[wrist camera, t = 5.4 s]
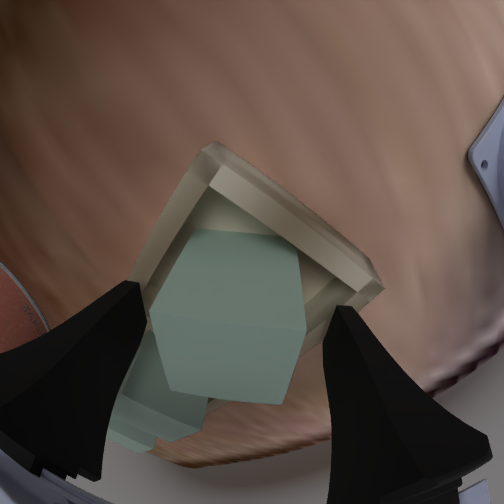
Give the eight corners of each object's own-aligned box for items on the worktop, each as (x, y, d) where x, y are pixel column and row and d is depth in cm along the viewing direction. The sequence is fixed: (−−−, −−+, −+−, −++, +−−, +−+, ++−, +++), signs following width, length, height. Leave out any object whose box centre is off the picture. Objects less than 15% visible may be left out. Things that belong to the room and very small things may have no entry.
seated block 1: (169, 392, 18) (153, 448, 13) (153, 406, 20) (138, 453, 15) (123, 368, 17) (99, 423, 13) (112, 384, 19) (92, 431, 14)
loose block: (295, 237, 11) (306, 329, 6) (281, 312, 13) (281, 404, 8) (195, 228, 11) (148, 310, 6) (198, 303, 13) (170, 390, 8)
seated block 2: (217, 352, 15) (201, 430, 10) (187, 378, 16) (170, 442, 12) (155, 318, 14) (121, 393, 9) (134, 349, 15) (106, 412, 11)
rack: (369, 258, 11) (384, 288, 9) (167, 417, 21) (161, 436, 19) (215, 141, 9) (200, 149, 7) (90, 377, 19) (81, 395, 17)
